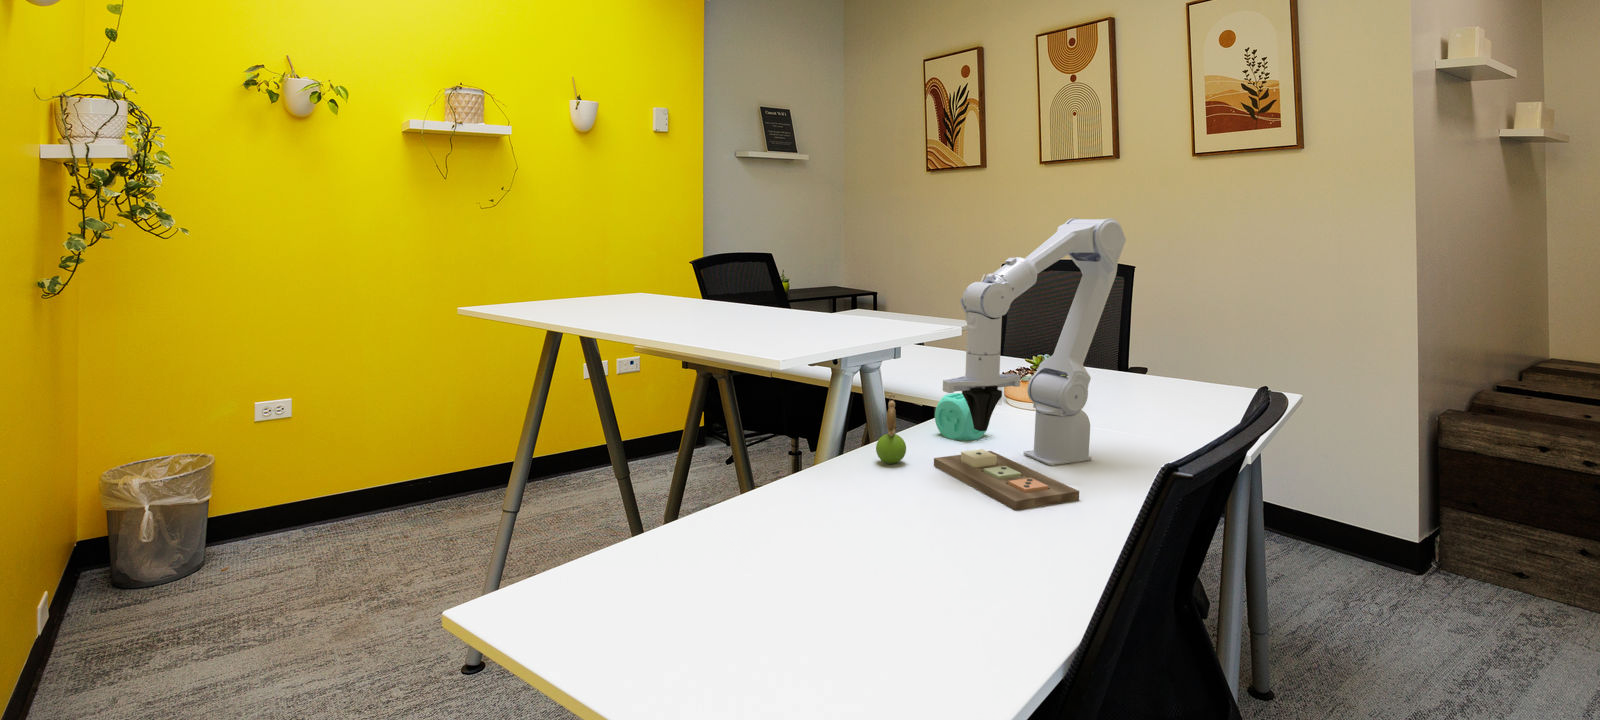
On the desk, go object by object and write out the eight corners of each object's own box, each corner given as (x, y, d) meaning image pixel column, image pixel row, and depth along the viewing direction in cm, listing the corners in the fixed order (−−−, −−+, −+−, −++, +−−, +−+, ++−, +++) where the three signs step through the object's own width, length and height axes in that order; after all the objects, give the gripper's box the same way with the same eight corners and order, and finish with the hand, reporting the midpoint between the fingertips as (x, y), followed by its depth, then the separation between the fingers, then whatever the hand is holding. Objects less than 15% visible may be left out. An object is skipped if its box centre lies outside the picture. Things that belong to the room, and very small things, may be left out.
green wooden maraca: (905, 457, 152) (906, 394, 150) (906, 467, 146) (907, 402, 144) (875, 456, 153) (876, 393, 151) (875, 467, 147) (876, 401, 145)
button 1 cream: (981, 459, 147) (982, 448, 147) (996, 466, 143) (996, 455, 143) (960, 462, 146) (961, 451, 145) (974, 469, 142) (975, 457, 141)
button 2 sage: (1004, 476, 141) (1005, 464, 141) (1020, 484, 137) (1021, 472, 137) (983, 479, 140) (983, 467, 139) (998, 487, 136) (998, 475, 135)
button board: (990, 458, 151) (990, 450, 151) (1078, 500, 129) (1079, 491, 129) (933, 466, 147) (933, 457, 147) (1015, 510, 125) (1015, 500, 125)
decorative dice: (958, 428, 173) (959, 391, 172) (989, 436, 167) (991, 397, 166) (933, 435, 168) (934, 396, 167) (965, 443, 162) (966, 403, 161)
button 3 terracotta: (1030, 489, 135) (1030, 476, 134) (1047, 497, 131) (1048, 485, 130) (1007, 492, 133) (1008, 480, 133) (1024, 501, 129) (1025, 488, 129)
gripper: (1004, 346, 147) (1001, 420, 150) (934, 351, 142) (932, 428, 144) (1029, 352, 141) (1025, 429, 143) (956, 358, 135) (954, 438, 138)
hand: (980, 429), depth 143 cm, fingers closed
